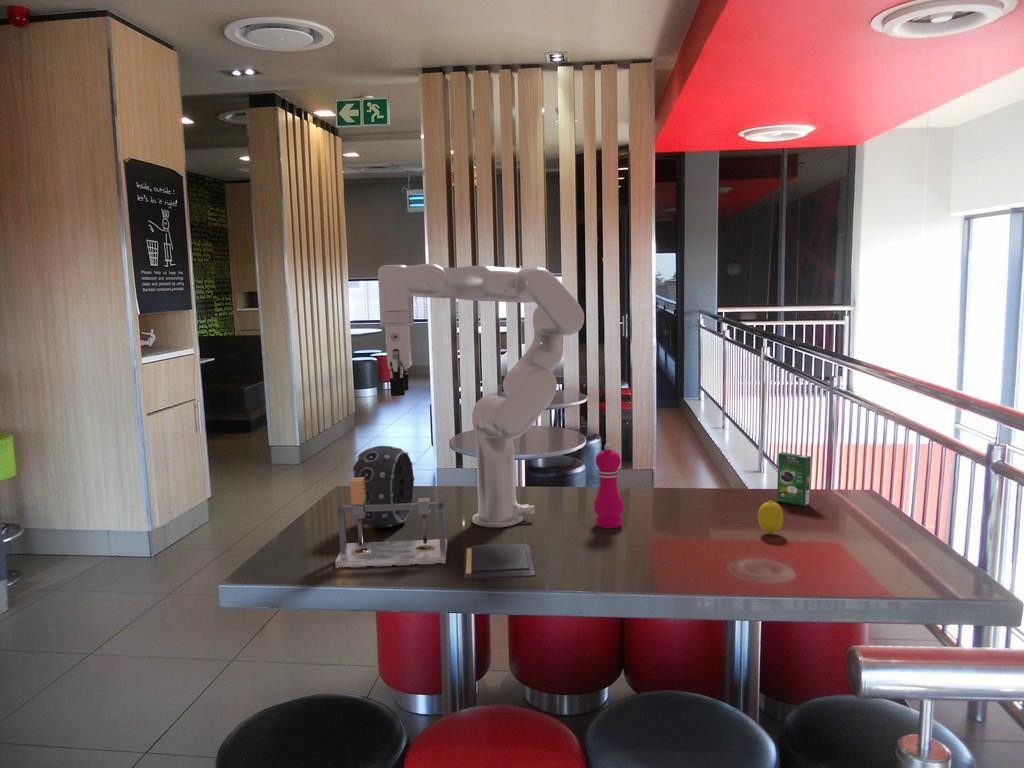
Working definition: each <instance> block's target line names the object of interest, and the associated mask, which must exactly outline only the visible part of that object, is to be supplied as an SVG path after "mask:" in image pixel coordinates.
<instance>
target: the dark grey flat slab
mask: <svg viewBox="0 0 1024 768" xmlns="http://www.w3.org/2000/svg"><path fill="white" fill-rule="evenodd" d="M464 548H465V549H464ZM464 548H463V569H464V575H463V574H462V575H463V576H462V579H463V580H469V579H468V578H472V579H471V580H479V578H483V579H509V578H510V579H511V578H530V577H531V578H532V577H536V568H535V565H534V561H533V557H532V549H531V547H530V545H528V544H525V543H524V542H521V543H520V542H518V543H497V544H496V543H495V544H493V543H492V544H477V545H476V544H475V545H474V544H473V545H472V546H469V547H468V546H467V547H466V546H465V547H464ZM483 579H482V580H483Z"/></svg>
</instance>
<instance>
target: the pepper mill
mask: <svg viewBox="0 0 1024 768" xmlns="http://www.w3.org/2000/svg"><path fill="white" fill-rule="evenodd" d="M603 448H604V449H603V450H601V451H599V452H597V455H596V458H595V465H596V466H597V468H598V470H597V476H598V477H599V490H598V493H597V495H596V497H595V499H594V502H593V510H594V512H595V514H596V515H597V516H596V517H595V524H596V526H598V527H599V528H604V529H615V528H619V527H621V526H622V524H623V518H622V516H620V515H622V513H623V512H624V509H625V507H624V502H623V499H622V496H621V494H620V492H619V490H618V482H617V479H618V477H619V470H618V468H619V467H620V466H621V463H622V461H621V456H620V454H619V453H618V452H617V451H615V450H614V449H613V447H612V445H611V444H610V443H605V445H604V447H603ZM612 449H613V450H612Z"/></svg>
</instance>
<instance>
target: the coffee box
mask: <svg viewBox="0 0 1024 768" xmlns="http://www.w3.org/2000/svg"><path fill="white" fill-rule="evenodd" d="M811 459H812V456H810V455H802V454H796V453H789V452H782V451H781V452H779V453H778V459H777V461H778V462H777V485H776V486H777V488H776V489H777V493H776V501H777V502H780V503H785V504H789V505H796V506H799V507H800V506H801V507H802V506H803V507H806V506H810V505H809V504H810V488H811V487H810V486H811V466H812V465H811V464H812V463H811V462H812V461H811Z"/></svg>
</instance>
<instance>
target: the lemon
mask: <svg viewBox="0 0 1024 768" xmlns="http://www.w3.org/2000/svg"><path fill="white" fill-rule="evenodd" d="M783 513H784V512H783V509H782V507H781V506H780V505H779V504H778V503H777V502H775V501H773V500H772V499H771V500H770V499H769V500H768V501H766V502H764V503H763V504H761V505H760V507H759V509H758V513H757V520H758V524H759V527H760V528H761V529H762V530H763V531H764V532H767V534H768V535H773V534H774V533H776V532H778V531H779V530H781V528H782V526H783V525H784V520H785V519H784V514H783Z"/></svg>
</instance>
